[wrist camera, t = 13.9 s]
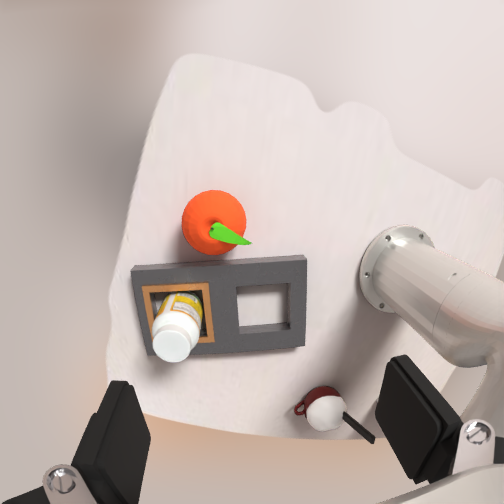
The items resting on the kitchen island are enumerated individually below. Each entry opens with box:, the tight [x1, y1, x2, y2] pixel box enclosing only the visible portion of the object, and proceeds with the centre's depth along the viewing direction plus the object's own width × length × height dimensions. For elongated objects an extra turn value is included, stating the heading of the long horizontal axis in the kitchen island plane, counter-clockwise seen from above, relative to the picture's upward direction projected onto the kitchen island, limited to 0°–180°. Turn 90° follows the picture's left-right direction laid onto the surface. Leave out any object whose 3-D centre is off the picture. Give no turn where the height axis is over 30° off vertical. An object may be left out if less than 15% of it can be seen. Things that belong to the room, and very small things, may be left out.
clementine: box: [182, 190, 251, 255], centre depth 33 cm, size 8×7×7 cm
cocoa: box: [294, 386, 375, 444], centre depth 40 cm, size 10×6×12 cm, turn 74°
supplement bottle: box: [152, 291, 203, 363], centre depth 35 cm, size 5×5×10 cm
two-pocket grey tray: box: [131, 255, 307, 355], centre depth 38 cm, size 21×12×2 cm, turn 93°
